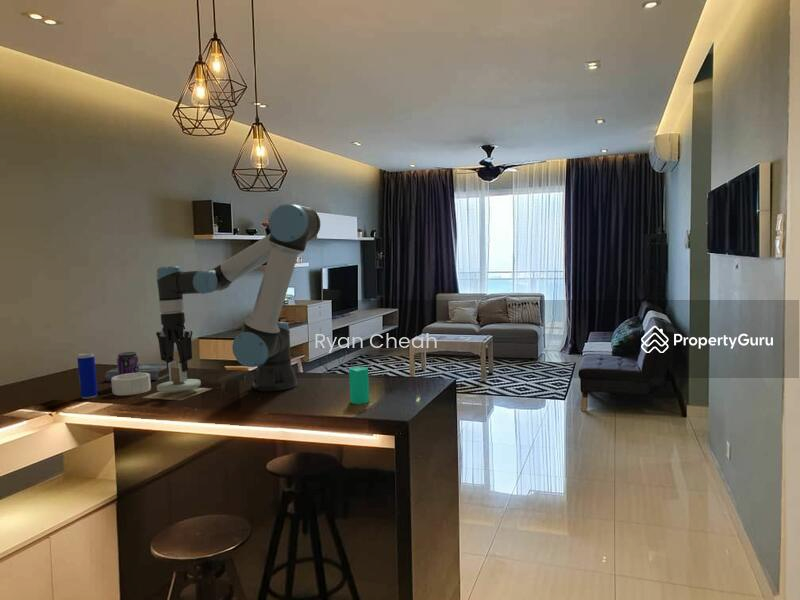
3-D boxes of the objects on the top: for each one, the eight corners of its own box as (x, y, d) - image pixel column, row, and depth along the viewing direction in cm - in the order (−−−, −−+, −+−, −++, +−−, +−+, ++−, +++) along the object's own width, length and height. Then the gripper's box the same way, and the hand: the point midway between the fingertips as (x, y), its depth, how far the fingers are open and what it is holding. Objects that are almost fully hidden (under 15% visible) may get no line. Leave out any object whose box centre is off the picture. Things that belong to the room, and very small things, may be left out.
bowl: (158, 389, 212) (157, 373, 212) (132, 398, 201) (131, 380, 201) (131, 388, 216) (130, 371, 216) (105, 396, 205) (103, 379, 205)
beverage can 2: (132, 387, 218) (129, 355, 217) (114, 387, 219) (112, 355, 218) (144, 383, 225) (141, 351, 224) (127, 382, 226) (124, 351, 225)
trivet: (212, 390, 208) (212, 388, 208) (180, 402, 193) (180, 400, 193) (175, 388, 213) (175, 386, 213) (141, 399, 198) (141, 397, 198)
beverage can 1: (84, 395, 208) (81, 353, 206) (100, 394, 208) (96, 352, 207) (78, 399, 202) (74, 355, 201) (93, 398, 203) (90, 354, 201)
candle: (346, 402, 185) (344, 364, 184) (358, 398, 190) (356, 360, 189) (361, 404, 182) (360, 365, 181) (373, 400, 187) (371, 362, 186)
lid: (209, 382, 207) (207, 363, 206) (181, 392, 194) (180, 372, 193) (176, 381, 212) (174, 363, 211) (147, 391, 199) (145, 371, 198)
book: (105, 382, 230) (104, 369, 230) (129, 373, 246) (128, 361, 246) (157, 382, 228) (156, 369, 227) (178, 372, 244) (177, 360, 244)
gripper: (199, 310, 201) (205, 379, 203) (160, 311, 207) (166, 378, 209) (184, 313, 194) (191, 384, 196) (144, 314, 200) (151, 383, 202)
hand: (178, 380), depth 203 cm, fingers closed on lid, 4 cm apart
